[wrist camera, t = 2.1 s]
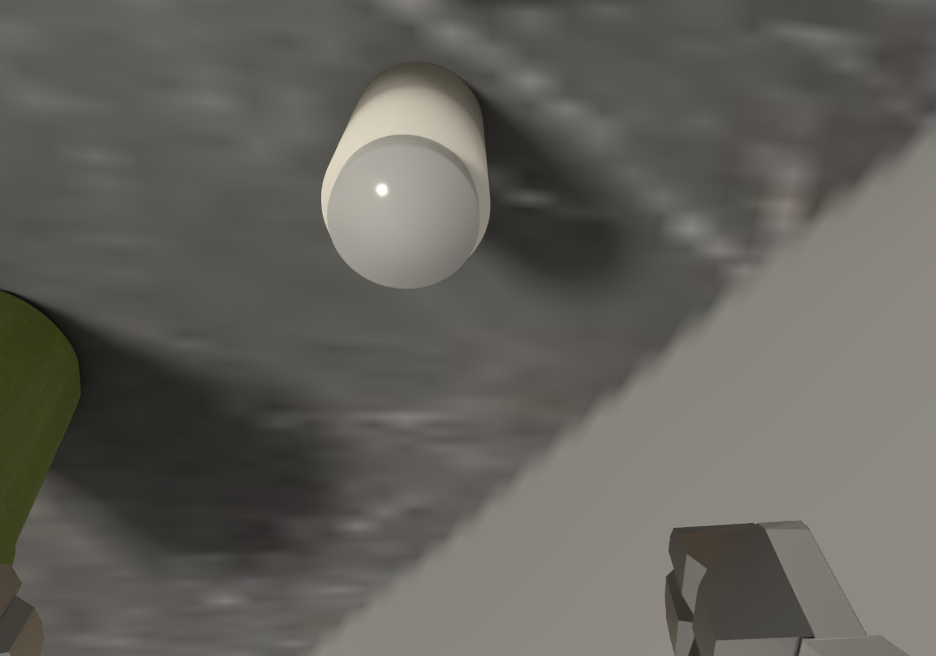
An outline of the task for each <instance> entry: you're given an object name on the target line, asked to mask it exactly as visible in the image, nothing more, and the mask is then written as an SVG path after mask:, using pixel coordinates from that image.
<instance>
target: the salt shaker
mask: <svg viewBox="0 0 936 656" xmlns="http://www.w3.org/2000/svg"><path fill="white" fill-rule="evenodd" d="M321 204H322V213H323V217H324V221H325V224H326V226H327V229H328V231H329V233H330V236H331V239H332V241H333V244H334V246H335V248H336V249H337V251H338V253H339V254H340V256H341V257H342V258H343V260H344V261H345V262H346V263H347V264H348V265H349V266H350V267H351V268H352V269H353V270H355V271H356V272H357V273H358V274H360V275H362V276H363V277H365V278H366V279H368V280H370V281H372V282H375V283H377V284H380V285H383V286H387V287H392V288H400V289H413V288H421V287H425V286H429V285H432V284H435V283H438V282H440V281H442V280H444V279H446V278H447V277H449V276H450V275H452V274H453V273H454V272H456V271H457V270H458V269H459V268H460V267H461V266H462V265H463V264H464V262H465V261H466V260H467V259H468V257H470V255H471V254H472V253H473V252H474V251H475V249H476V248H477V246H478V245H479V243H480V242H481V240H482V238H483V236H484V234H485V231H486V228H487V225H488V222H489V215H490V192H489V181H488V170H487V158H486V147H485V136H484V124H483V116H482V112H481V108H480V106H479V103H478V101H477V99H476V97H475V95H474V94H473V92H472V91H471V89H470V88H469V87H468V85H467V84H466V83H465V82H464V81H463V80H462V79H461V78H459V77H458V76H457V75H456V74H454V73H453V72H451V71H449V70H448V69H445V68H443V67H441V66H438V65H435V64H431V63H425V62H409V63H403V64H399V65H396V66H393V67H391V68H389V69H387V70H385V71H383V72H382V73H380V74H379V75H378V76H376V77H375V78H374V79H373V80H372V81H371V82H370V83H369V84H368V85H367V87H366V88H365V90H364V91H363V93H362V95H361V97H360V99H359V101H358V103H357V105H356V107H355V110H354V112H353V114H352V116H351V118H350V121H349V123H348V125H347V127H346V129H345V132H344V134H343V136H342V138H341V140H340V143H339V145H338V147H337V149H336V151H335V154H334V156H333V158H332V160H331V162H330V165H329V167H328V169H327V171H326V174H325V177H324V180H323V186H322V194H321Z"/></svg>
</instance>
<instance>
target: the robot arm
mask: <svg viewBox="0 0 936 656" xmlns="http://www.w3.org/2000/svg"><path fill="white" fill-rule="evenodd" d="M669 554H670V557H671V561H672V564H673V567H674V569H673V571H671V573H669V574H668V575H667V576H666V585H665V606H666V619H667V625H668V630H669V636H670V640H671V644H672V647H673V651H674V655H675V656H909V655H907V654H906V653H905V652H903V651H902V650H900V649H899V648H898V647H896V646H895V645H893V644H892V643H891V642H889V641H888V640H886V639H885V638H884V637H882V636H867V634H866V632H865V631H864V629H863V627H862V625H861V623H860V621H859V620H858V618H857V616H856V614H855V612H854V610H853V609H852V607H851V605H850V603H849V601H848V599H847V598H846V596H845V594H844V593H843V590H842V588H841V587H840V585H839V583H838V581H837V579H836V577H835V576H834V574H833V572H832V570H831V568H830V567H829V565H828V563H827V561H826V559H825V557H824V556H823V554H822V552H821V550H820V548H819V547H818V545H817V543H816V541H815V539H814V537H813V536H812V534H811V532H810V530H809V528H808V527H807V526H806V525H805V524H804V523H803V522H801V521H785V522H767V523H757V524H754V523H748V524H732V525H715V526H699V527H683V528H673V531H672V533H671V535H670V543H669ZM21 584H22V582H21V581H20V579H19V578H18V576H17V574H16V573H15V571H14V569H13V568H12V566H11V565H9V564H1V563H0V656H41V652H42V647H43V642H44V634H43V627H42V621H41V619H40V617H39V615H38V613H37V611H36V609H35V607H33V606H32V605H30V604H28V603H27V602H25V601H24V600H22V599H21V598H19V597H17V596H16V595H17V593H18V591H19V588H20V586H21Z"/></svg>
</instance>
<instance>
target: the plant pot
mask: <svg viewBox="0 0 936 656" xmlns="http://www.w3.org/2000/svg"><path fill="white" fill-rule="evenodd" d="M80 396H81V385H80V372H79V363H78V358H77V356H76V354H75V352H74V350H73V348H72V346H71V344H70V343H69V341H68V340H67V338H66V337H65V336H64V335H63V333H62V332H61V331H60V330H59V329H58V327H57V326H56V325H55V324H54V323H53V322H52V321H51V320H50V319H49V318H48V317H46V316H45V315H44V314H43V313H41V312H40V311H38V310H37V309H36V308H34V307H33V306H31V305H30V304H28V303H26V302H25V301H23V300H21V299H19V298H17V297H15V296H13V295H11V294H8V293H5V292H3V291H0V563H1V564H9V565H11V566H12V565H13V562H14V557H15V545H16V542H17V540H18V537H19V535H20V533H21V531H22V528H23V526H24V524H25V521H26V519H27V517H28V515H29V512H30V510H31V508H32V506H33V503H34V501H35V499H36V497H37V494H38V492H39V490H40V488H41V485H42V483H43V481H44V479H45V476H46V474H47V472H48V470H49V468H50V465H51V463H52V461H53V459H54V456H55V454H56V452H57V450H58V447H59V445H60V443H61V441H62V439H63V436H64V434H65V432H66V430H67V427H68V425H69V423H70V421H71V418H72V416H73V414H74V411H75V409H76V407H77V404H78V402H79V399H80Z"/></svg>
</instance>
